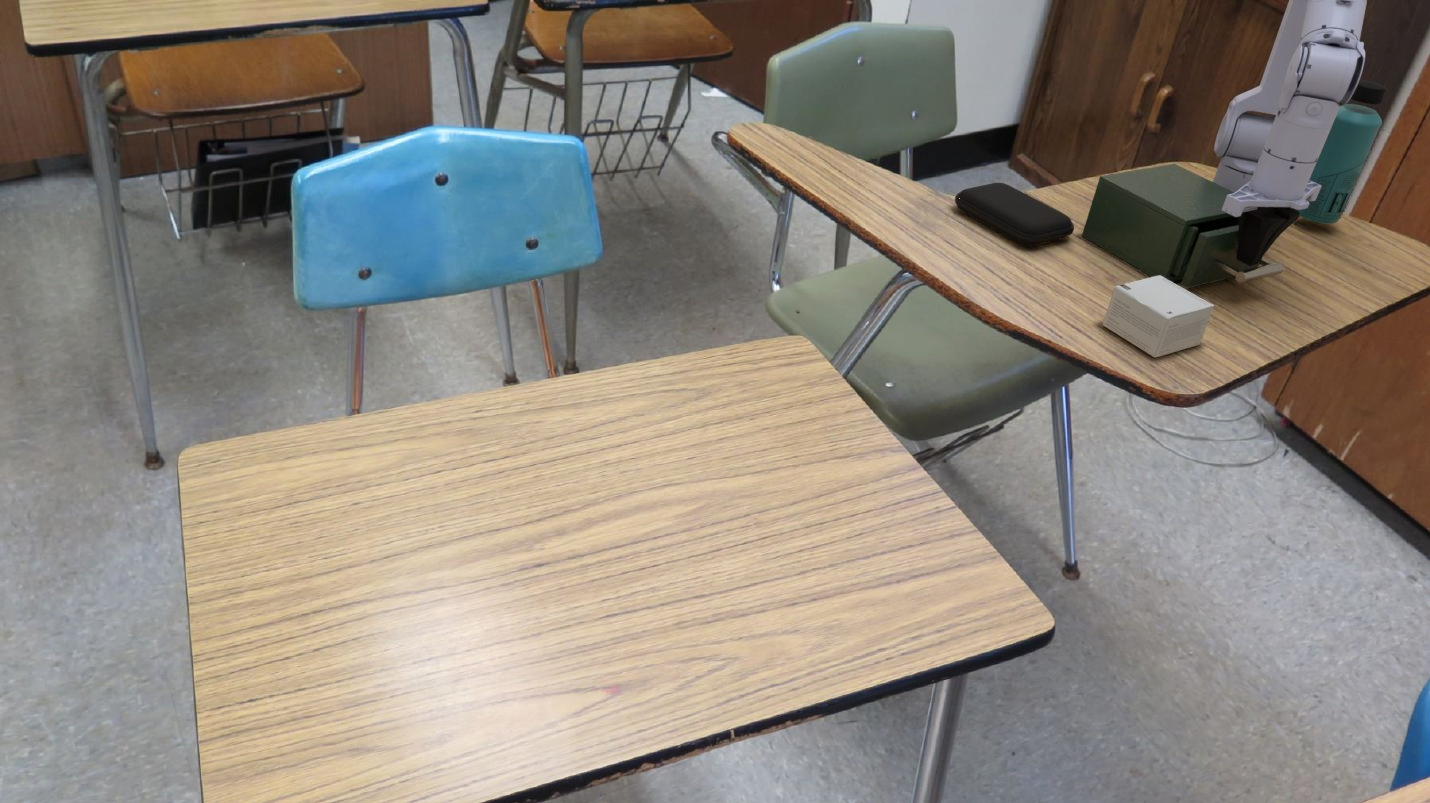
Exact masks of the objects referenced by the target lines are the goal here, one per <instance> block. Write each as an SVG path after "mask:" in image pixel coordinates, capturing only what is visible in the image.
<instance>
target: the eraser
mask: <svg viewBox="0 0 1430 803" xmlns="http://www.w3.org/2000/svg"><path fill="white" fill-rule="evenodd" d="M1192 225H1193V226H1195V227H1197V228H1198V231H1197V234H1196V237H1195V239H1194V242H1193V245H1192V247H1191V250H1190V253H1189V256H1188V257H1191V256H1192V253H1193V250H1194V248H1195V245H1196V242H1197V240H1198V237H1199V234H1200V233H1204V232H1208V231H1213V230H1218V229H1223V228H1224V227H1223V226H1221V225H1220V224H1219V223H1218V222H1216V221H1206V222H1201V223H1197V224H1192Z"/></svg>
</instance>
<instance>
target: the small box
mask: <svg viewBox="0 0 1430 803" xmlns="http://www.w3.org/2000/svg"><path fill="white" fill-rule="evenodd" d="M1214 308H1215V305H1214V304H1212V303H1211V302H1209V301H1207V300H1205V299H1204V298H1202V297H1200V296H1198V295H1196V294H1194V293H1193V292H1190V291H1189V290H1188V289H1185V288H1184V287H1182V286H1180V285H1179V284H1176V283H1174V281H1173V282H1171V281H1169V280H1168V279H1166V278H1164V277H1163V276H1161V275H1159V276H1154V277H1151V276H1150V277H1146V278H1143V279H1138V280H1135V281H1130V282H1125V283H1122V284H1121V283H1120V284H1119V285H1118V284H1117V285H1115V286H1114V287H1113V290H1112V294H1111V298H1110V300H1109V304H1108V306H1107V310H1106V313H1105V316H1104V318H1103V322H1102V326H1103V327H1105V328H1106V329H1108V330H1109V331H1111V332H1112V333H1114V334H1116V335H1118V336H1119V337H1121V338H1122V339H1124V340H1125V341H1127V342H1129V343H1131V344H1132V345H1134V346H1135V347H1137V348H1138V349H1140V350H1142V351H1143V352H1144V353H1146V354H1148V355H1150V356H1151V357H1153V358H1160V357H1162V356H1166V355H1169V354H1172V353H1173V354H1174V353H1177V352H1179V351H1183V350H1186V349H1190V348H1193V347H1196V346H1199V345H1200V344H1201V342H1202V339H1203V336H1204V334H1205V331H1206V328H1207V326H1208V323H1209V321H1210V318H1211V316H1212V313H1213V311H1214V310H1213V309H1214Z"/></svg>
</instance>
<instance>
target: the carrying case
mask: <svg viewBox="0 0 1430 803" xmlns="http://www.w3.org/2000/svg"><path fill="white" fill-rule="evenodd" d="M959 198H960V199H959ZM954 203H955V205H956V206H957V208H958V209H959V210H960V211H961V212H962V213H964V214H965V215H967V216H968V217H970V218H972V219H974V220H975V221H977V222H978V223H981V224H983V225H985V226H986V227H987V228H989V229H991V230H993V231H995V232H996V233H998V234H1000V235H1002V236H1004V237H1006V238H1007V239H1009V240H1011V241H1013V242H1015V243H1016V244H1019V245H1021V246H1022V247H1023V246H1024V247H1027V248H1028V247H1029V248H1030V247H1034V246H1039V245H1043V244H1046V243H1051V242H1054V241H1058V240H1062V239H1065V238H1067V237H1068V236H1070V235H1071V234H1073V232H1074V230H1075V226H1074V223H1073V222H1072V219H1071V218H1070V217H1069V216H1068V215H1067V214H1065V213H1063V212H1061V211H1060V210H1058V209H1055V208H1054V207H1052V206H1050V205H1048V204H1046V203H1044V202H1043V201H1040V200H1039V199H1037V198H1035V197H1033V196H1031V195H1029V194H1028V193H1025V192H1023V191H1022V190H1019V189H1017V188H1016V187H1013V186H1011V185H1009V184H1007V183H1004V182H999V181H998V182H992V183H988V184H983V185H978V186H973V187H967V188H965V189H962V190H960V192H958V193H956V195H955V196H954Z"/></svg>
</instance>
